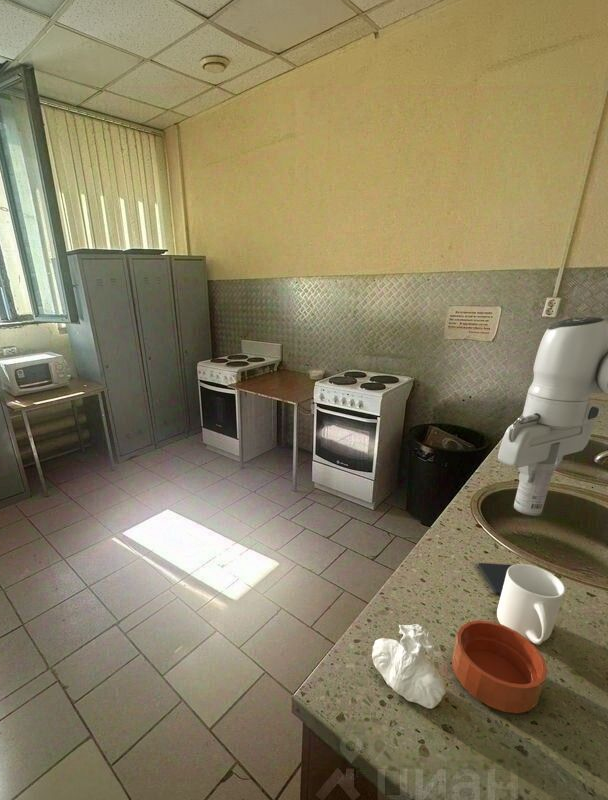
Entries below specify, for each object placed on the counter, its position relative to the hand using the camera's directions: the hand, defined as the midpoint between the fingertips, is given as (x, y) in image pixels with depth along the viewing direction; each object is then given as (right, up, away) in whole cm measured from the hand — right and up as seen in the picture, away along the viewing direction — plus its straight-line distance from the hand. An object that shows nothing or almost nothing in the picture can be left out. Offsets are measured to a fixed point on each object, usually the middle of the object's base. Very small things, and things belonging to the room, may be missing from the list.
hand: (535, 478), depth 76 cm
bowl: (-16, -32, -11) cm, 37 cm away
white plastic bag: (-30, -32, -12) cm, 45 cm away
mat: (+1, -23, +9) cm, 25 cm away
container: (0, -7, +3) cm, 7 cm away
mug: (-4, -28, -3) cm, 29 cm away
